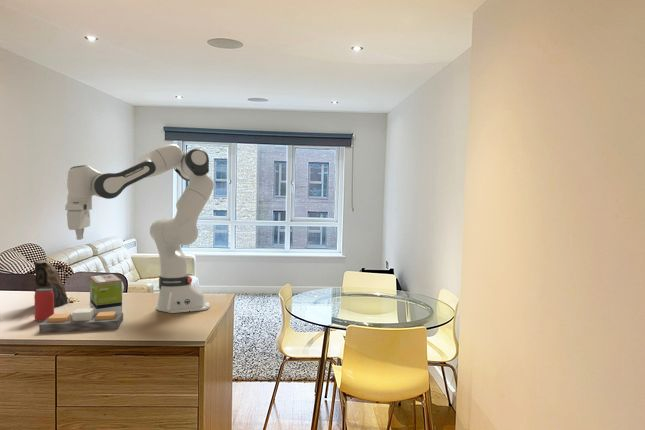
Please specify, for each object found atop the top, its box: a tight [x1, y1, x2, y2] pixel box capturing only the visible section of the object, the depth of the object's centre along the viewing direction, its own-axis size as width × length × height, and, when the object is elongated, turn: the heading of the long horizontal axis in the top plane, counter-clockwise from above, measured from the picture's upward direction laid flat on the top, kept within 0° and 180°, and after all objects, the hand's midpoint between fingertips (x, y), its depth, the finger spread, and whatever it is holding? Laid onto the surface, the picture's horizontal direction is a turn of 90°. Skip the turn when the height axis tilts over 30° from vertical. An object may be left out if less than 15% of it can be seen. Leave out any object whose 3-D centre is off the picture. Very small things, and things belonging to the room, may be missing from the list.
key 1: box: [48, 312, 72, 322], centre depth 173 cm, size 6×6×3 cm
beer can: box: [33, 288, 55, 322], centre depth 183 cm, size 7×7×12 cm
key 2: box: [96, 311, 116, 320], centre depth 177 cm, size 6×6×3 cm
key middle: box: [71, 307, 94, 321], centre depth 175 cm, size 6×6×3 cm
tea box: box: [89, 273, 123, 314], centre depth 195 cm, size 15×10×15 cm
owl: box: [33, 259, 69, 309], centre depth 204 cm, size 13×13×20 cm
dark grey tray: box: [38, 312, 124, 334], centre depth 175 cm, size 26×12×3 cm, turn 104°
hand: (79, 239), depth 188 cm, fingers closed
